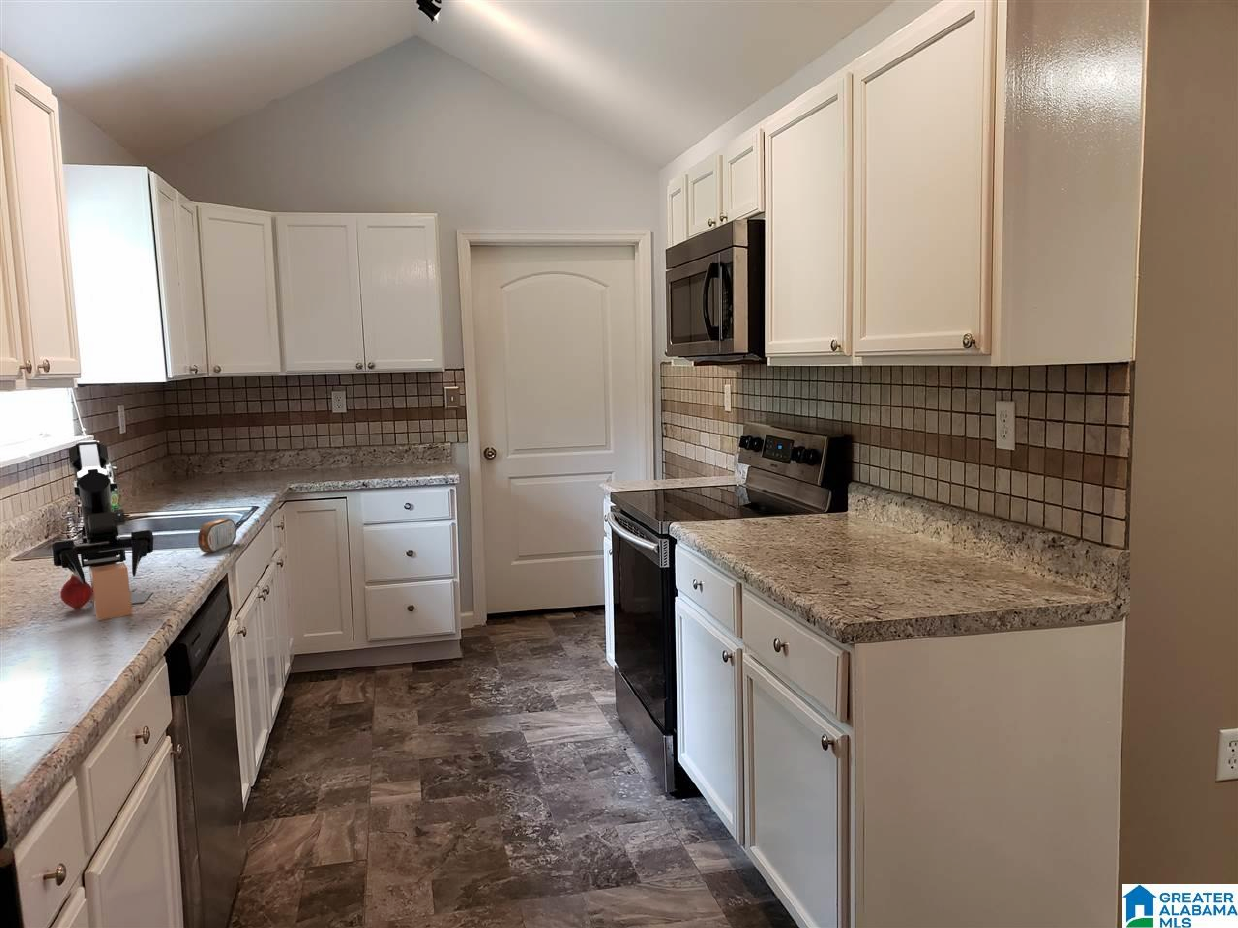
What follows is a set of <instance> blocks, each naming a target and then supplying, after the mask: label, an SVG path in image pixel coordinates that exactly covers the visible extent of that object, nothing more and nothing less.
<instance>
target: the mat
mask: <svg viewBox="0 0 1238 928" xmlns="http://www.w3.org/2000/svg"><path fill="white" fill-rule="evenodd" d="M152 593H153V594H154V592H153V591H148V592H138V593H137V592H136V593H130V597H131V606H133V605H142V604H145V603H146V602H147V600H148V599H150V597H151V596H152V595H151V594H152ZM150 595H151V596H150ZM149 596H150V597H149Z"/></svg>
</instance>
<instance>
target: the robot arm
mask: <svg viewBox="0 0 1238 928" xmlns="http://www.w3.org/2000/svg"><path fill="white" fill-rule="evenodd" d="M67 452H68V457H69V458H68V460H69V468H70V469H73V472H74V477H75V478H76V480H74V481H73V488H74V495H75V497H76V498H79V501H80V502H81V506H80V507H81V512H82V519H83V524H84V525H83V527H82V530H81V538H82V541H79V542H78V543H79V544H75V541H74V539H73V538H71V539H64V540H55V541H53V542H52V544H51V548H52V550H51V551H52V559H53V566H55V567H61V568H62V569H68V570H69V571H70V572H71V573H72V574H75V575H76V576H77V577H78V578H79V580H80V581H81V582H82V583H83V584H86V582H87V580H86V576H85V572H84V569H83V568H88V571H89V572H88V573H90V567H97V566H104V565H110V564H117V563H124V561H125V562H126V559H127V558H126V550H127V549H131V573H132V574H131V575H132V577H136V575H137V572H138V571H137V570H138V566H139V564H140V562H141V561H142V558H145V557H147V556H148V554H151V553H152V552H153V551H154V535H153V531H151V530H150V529H149V528H148V529H140V530H133V531H130V538H123V539H122V538H121V536H119V529H118V526H124V525H126V517H125V512H124V508H119V509H118V508H117V509H113V507H112V503H111V501H112V494H114V493H115V491H116V489H118V483H117V482H116V481H115V479H113V478H114V477H110V475H109V471H108V470H107V466H108V465H110V458H109V456H110V455H109V450H108V446H107V445H105V444H102V443H100V441H99V440H96V439H95V440H94V439H92V440H81V441H80V440H79V441H78V442H75V445H73V446H72V447H70V448H69V449H68V451H67ZM79 555H80V556H79ZM80 558H81V559H80ZM89 581H90V587H91V589H92V583H91V575H90V574H89Z"/></svg>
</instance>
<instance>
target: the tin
mask: <svg viewBox="0 0 1238 928" xmlns="http://www.w3.org/2000/svg"><path fill="white" fill-rule="evenodd" d="M236 525H237V524H236V523H235V521H234V519H233V520H232V518H225V517H219V518H217V519H214V520H211V521H207V522H205V523H204V524H203V525H202V526H201V527H200V529H199V532H198V537H197V543H198V547H199V549H200V551H201V552H203V553H205V554H206V553H207V554H208V553H211V554H212V553H217V552H219V551H222V550H225V549H226V548H229V547H232V545H233V544H234V543H235V541H236V537H237V527H236Z"/></svg>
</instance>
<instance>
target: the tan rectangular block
mask: <svg viewBox="0 0 1238 928" xmlns="http://www.w3.org/2000/svg"><path fill="white" fill-rule="evenodd" d="M90 575H91V581H90V584H91V583H92V592H93V593H92V598H93V599H92V600H93V606H94V614H95V617H96V620H97V621H101V620H100V619H102V620H107V619H111V618H118V617H123V616H124V617H125V616H129V615H133V608H132V606H133V605H131V597H130V594H131V590H130V589H131V587H130V582H129V571H128V567H127V565H126V564H125V562H117V564H110V565H104V566H97V567H90V572H89V576H90Z"/></svg>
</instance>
